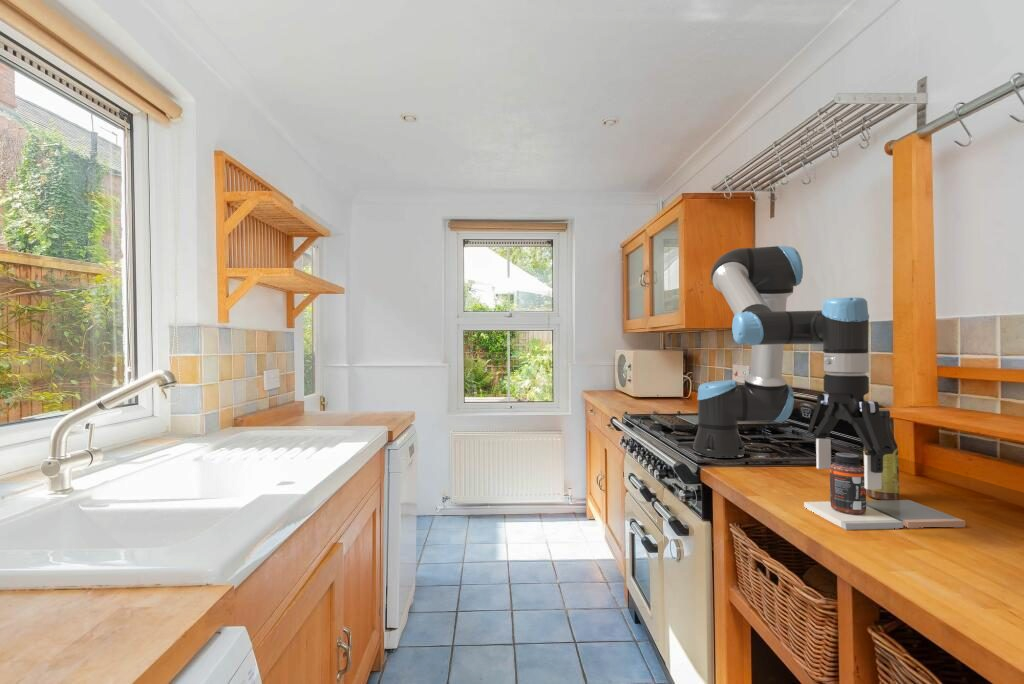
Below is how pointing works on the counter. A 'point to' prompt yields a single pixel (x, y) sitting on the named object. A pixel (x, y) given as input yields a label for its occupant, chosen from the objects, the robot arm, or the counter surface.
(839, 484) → the supplement bottle
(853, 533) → the counter surface
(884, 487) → the sauce bottle
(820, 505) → the cream square tile
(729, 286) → the robot arm
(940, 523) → the grey square coaster
